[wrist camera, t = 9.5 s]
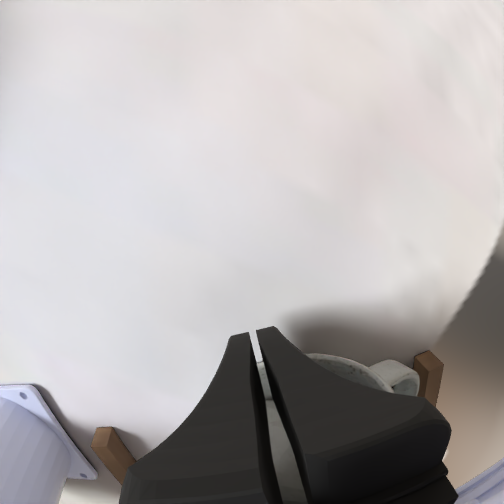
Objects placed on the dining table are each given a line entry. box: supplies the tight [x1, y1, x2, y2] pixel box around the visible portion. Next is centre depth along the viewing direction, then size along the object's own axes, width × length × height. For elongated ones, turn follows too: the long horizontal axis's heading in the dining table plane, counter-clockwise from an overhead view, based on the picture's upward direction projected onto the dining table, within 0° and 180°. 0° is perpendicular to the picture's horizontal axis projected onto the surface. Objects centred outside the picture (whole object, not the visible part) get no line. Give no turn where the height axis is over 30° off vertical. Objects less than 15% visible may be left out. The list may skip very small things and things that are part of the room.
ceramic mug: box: [257, 353, 420, 504], centre depth 11 cm, size 11×8×8 cm
